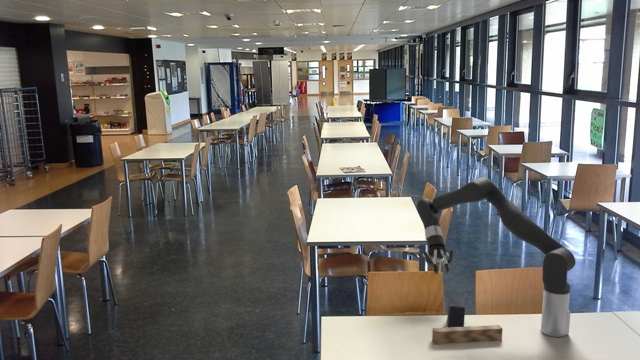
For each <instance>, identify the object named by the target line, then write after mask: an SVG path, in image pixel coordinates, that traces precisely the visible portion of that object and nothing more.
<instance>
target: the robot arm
mask: <svg viewBox="0 0 640 360" xmlns="http://www.w3.org/2000/svg"><path fill="white" fill-rule="evenodd" d="M484 200H486V201H488V202H489V203H490V204H491V205H492V206H493V207H494V209H495V210H496V211H497V213H498V216H499V219H500V221H501V223H502V225H503V226H504V227H505V229H507V230H508V232H510V233H511V234H512V235H513V236H515V237H516V238H517V239H519V240H520V241H523V242H524V243H526V244H529V245H531V246H532V247H535V248H536V249H538V250H539V251H540V252H541V253H542V254H544V257H543V260H542V278H541V279H542V283H543V292H542V293H543V294H542V295H543V296H542V309H541V322H540V331H541V333H543V334H544V335H547V336H548V337H552V338H553V337H554V338H562V337H565V336H568V335H569V334H570V323H571V310H569V309H570V307H569V305H570V294H571V293H570V291H571V285H570V283H569V282H568V272H570V271H571V270H572V269H574V268H575V265H576V261H577V260H576V257H575V255H574V253H573V252H572V251H570V249H568V248H567V247H566V246H564V245H562V244H561V243H560V242H559V241H557V240H556V239H555V238H553V237H552V236H551V235H549V234H548V233H547V232H546V231H545V230H544V229H543V228H542V227H541V226H539V225H538V224H537V223H536V222H535V221H534V220H532V219H531V218H530V216H528V215H527V214H526V213H525V212H524V211H523V210H521V209H520V208H519V207H518V206H517V205H516V204H514V203H513V202H512V201H511V200H510V199H509V198H508V197H507V196H506V195H505V194H504V193H503V192H502V191H501V190H500V189H499V187H497V186H496V184H495V183H494V182H493V180H490V179H489V178H487V177H484V176H482V177H478V178H475V179H473V180H472V179H471V181H469V182H468V183H466V184H465V185H463V186H461V187H460V188H458V189H456V190H453V191H447V192H444V193H443V192H442V193H440V194H438V195H436V196H434V197H433V198H432V199H429V198H425V197H422V198H420V199H418V201H417V202H416V210H417V213H418V216H419V217H420V219H421V222H422V224H423V228H424V236H425V240H426V245H427V251H423V253H422V257H423V259H424V260H425V262H426V265H428V266H431V267H432V270H433V273H434V274H435V275H438V274H439V270H438V269H439V268H438V265H437V260H440V261H441V263H442V264H443V269H444V274H446V275H447V274H448V273H449V271H450V269H449V265H451V263H452V261H453V255H454V250H448V249H447V248H446V244H445V240H444V235H443V232H442V229H441V225H440V220H439V218H438V216H437V215H439V214H440V213H441V212H442V211H444V210H448V209H450V208H451V209H452V208H454V207H456V206H458V205H461V204H467V203H479V202H482V201H484ZM446 255H447V256H446ZM429 256H430V257H431V258H430V257H429ZM447 257H448V259H447Z"/></svg>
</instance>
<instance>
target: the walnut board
mask: <svg viewBox="0 0 640 360" xmlns="http://www.w3.org/2000/svg"><path fill="white" fill-rule="evenodd" d="M431 334H432V336H431V340H432V342H433V344H434V345H449V344H467V343H468V344H469V343H470V344H471V343H487V342H502V341H503V327H502V326H501V325H499V324H493V325H473V326H464V327H449V328H448V327H432V333H431Z"/></svg>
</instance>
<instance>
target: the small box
mask: <svg viewBox="0 0 640 360" xmlns="http://www.w3.org/2000/svg"><path fill="white" fill-rule="evenodd" d="M447 305H448V306H447V319H446V322H447V324H446V325H447V326H446V328H449V327H465V315H466V314H465V313H466V307H465V305H466V304H465V299H464V296H463V297H462V296H452V295H448V304H447Z"/></svg>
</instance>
